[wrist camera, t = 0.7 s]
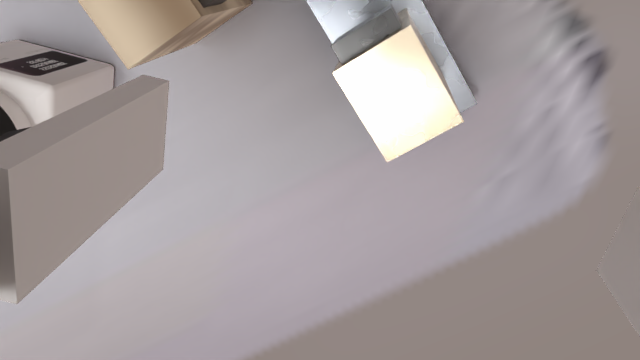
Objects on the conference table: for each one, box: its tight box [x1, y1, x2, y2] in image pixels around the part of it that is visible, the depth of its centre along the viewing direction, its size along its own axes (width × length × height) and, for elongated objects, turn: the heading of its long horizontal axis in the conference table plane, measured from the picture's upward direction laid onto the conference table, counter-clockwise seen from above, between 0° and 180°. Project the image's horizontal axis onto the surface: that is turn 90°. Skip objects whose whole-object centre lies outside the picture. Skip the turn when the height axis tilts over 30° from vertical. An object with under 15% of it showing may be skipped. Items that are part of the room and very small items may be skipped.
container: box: [0, 40, 114, 135], centre depth 33 cm, size 8×8×13 cm
